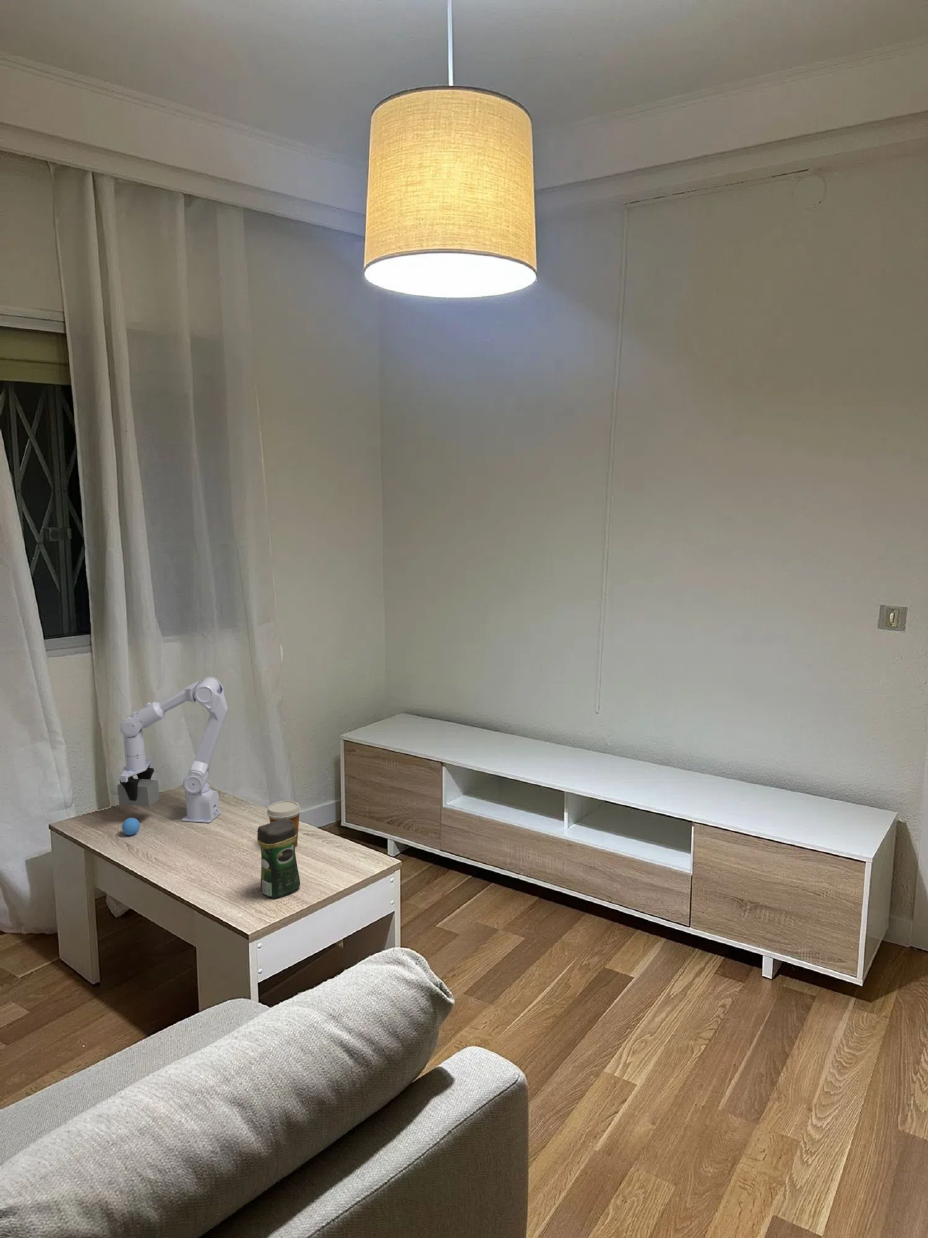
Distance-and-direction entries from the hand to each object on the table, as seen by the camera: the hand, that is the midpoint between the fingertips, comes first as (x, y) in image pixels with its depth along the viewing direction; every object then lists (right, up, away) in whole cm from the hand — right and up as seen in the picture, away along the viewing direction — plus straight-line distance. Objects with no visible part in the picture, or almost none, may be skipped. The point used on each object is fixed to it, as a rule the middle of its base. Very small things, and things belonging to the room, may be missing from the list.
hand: (139, 796), depth 274 cm
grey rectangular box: (0, -2, 0) cm, 2 cm away
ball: (+1, -7, -9) cm, 12 cm away
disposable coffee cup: (+49, -11, -19) cm, 54 cm away
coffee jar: (+53, -16, -45) cm, 71 cm away
